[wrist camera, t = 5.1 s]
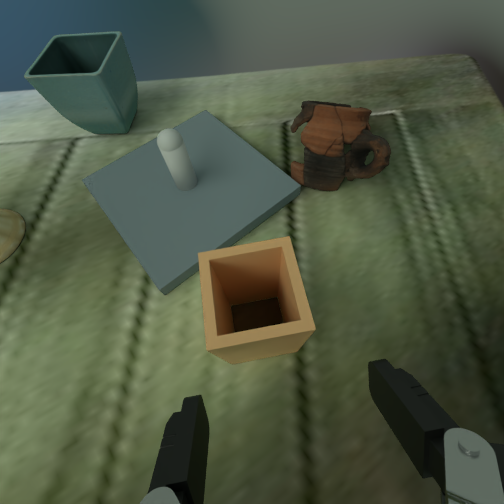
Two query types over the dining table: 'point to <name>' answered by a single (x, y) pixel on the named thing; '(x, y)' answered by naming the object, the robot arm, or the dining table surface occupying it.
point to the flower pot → (88, 80)
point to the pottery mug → (336, 145)
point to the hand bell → (10, 232)
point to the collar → (253, 299)
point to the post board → (188, 196)
